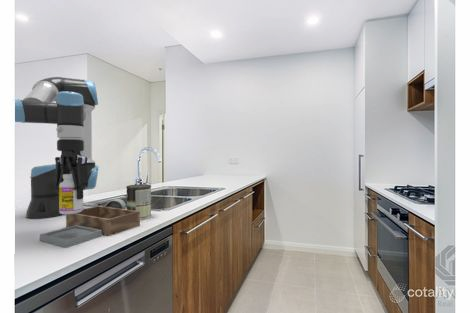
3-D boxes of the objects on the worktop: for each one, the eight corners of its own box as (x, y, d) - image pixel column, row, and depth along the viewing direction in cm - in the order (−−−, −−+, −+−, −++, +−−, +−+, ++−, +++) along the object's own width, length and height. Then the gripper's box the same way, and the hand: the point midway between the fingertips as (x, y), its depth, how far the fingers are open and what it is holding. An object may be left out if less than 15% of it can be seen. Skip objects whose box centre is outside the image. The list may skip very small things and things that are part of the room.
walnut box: (66, 226, 97) (66, 212, 97) (99, 218, 109) (99, 205, 109) (108, 235, 86) (108, 219, 86) (139, 225, 99) (139, 211, 99)
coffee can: (122, 220, 106) (122, 187, 106) (131, 214, 116) (130, 184, 116) (147, 220, 107) (147, 187, 107) (153, 214, 117) (153, 184, 117)
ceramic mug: (126, 213, 119) (126, 196, 119) (122, 217, 111) (122, 200, 111) (102, 214, 117) (102, 198, 117) (96, 219, 109) (96, 201, 109)
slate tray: (39, 240, 82) (39, 234, 82) (76, 230, 92) (76, 225, 92) (65, 247, 76) (65, 241, 76) (101, 235, 86) (101, 230, 86)
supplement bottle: (57, 215, 79) (57, 175, 79) (60, 211, 85) (60, 173, 85) (82, 213, 82) (81, 174, 82) (83, 209, 88) (83, 173, 88)
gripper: (41, 139, 84) (42, 207, 85) (77, 137, 76) (78, 213, 76) (64, 140, 91) (65, 203, 91) (100, 139, 83) (101, 208, 83)
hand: (71, 207), depth 84 cm, fingers closed on supplement bottle, 7 cm apart
